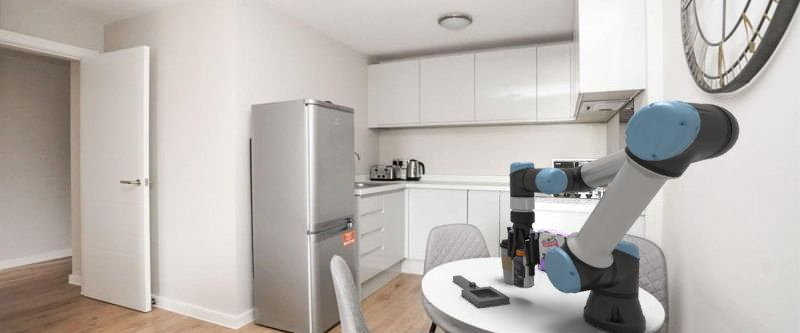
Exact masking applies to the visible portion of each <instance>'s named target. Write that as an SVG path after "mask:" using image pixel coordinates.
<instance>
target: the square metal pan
mask: <svg viewBox="0 0 800 333" xmlns="http://www.w3.org/2000/svg"><path fill="white" fill-rule="evenodd" d="M452 282H453V283H454V284H456V285H458V287H461V288H463V289H461V297H462V298H464V299H465V300H466V301H468V302H469V303H471V305H473V306H474V307H476V308H477V309H483V308H491V307H498V306H504V305H510V304H511V303H510V302H511V301H510V300H511V298H510V296H508V295H506V294H504V293H503V292H501V291H499V290H497V289H496V288H495V287H492V286H491V285H489V286H481V287H480V286H478V285H477V282H474V281H471V280H469V279H467V278H466V277H464V276H462V275H460V274H459V275H458V274H457V275H453V276H452Z"/></svg>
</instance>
